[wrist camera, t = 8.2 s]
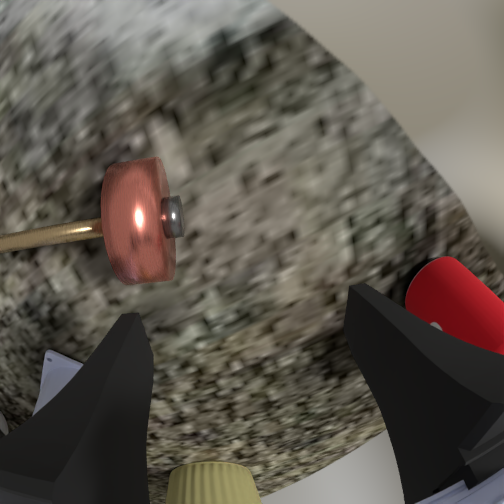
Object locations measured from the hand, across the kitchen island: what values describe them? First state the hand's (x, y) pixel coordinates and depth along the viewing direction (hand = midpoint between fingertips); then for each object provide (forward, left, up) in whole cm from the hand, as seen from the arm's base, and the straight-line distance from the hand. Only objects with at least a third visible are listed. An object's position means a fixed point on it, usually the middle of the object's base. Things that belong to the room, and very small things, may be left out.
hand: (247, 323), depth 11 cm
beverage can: (+3, -18, -10) cm, 21 cm away
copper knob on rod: (-5, +10, -10) cm, 15 cm away
